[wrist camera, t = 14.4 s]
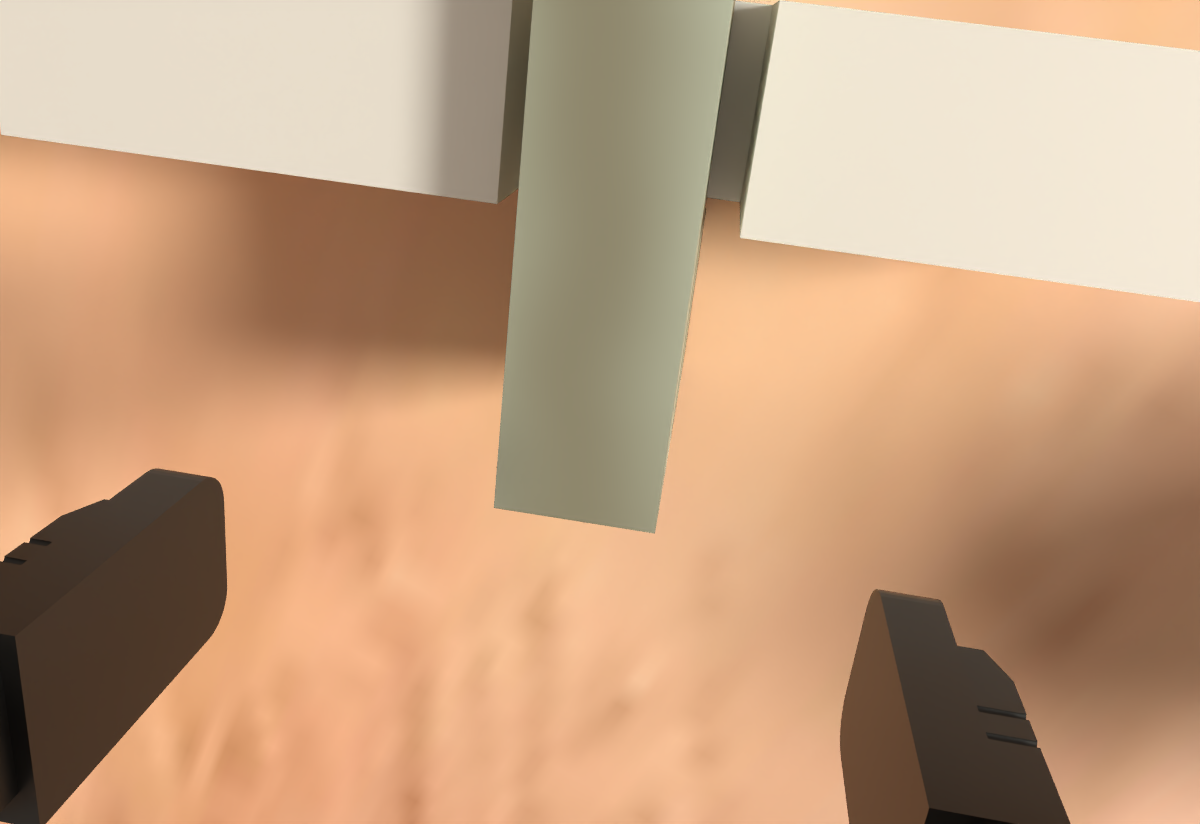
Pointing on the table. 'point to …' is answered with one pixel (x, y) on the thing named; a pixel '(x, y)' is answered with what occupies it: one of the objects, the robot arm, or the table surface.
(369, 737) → the table surface
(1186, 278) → the slotted beam
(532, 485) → the slotted plate
